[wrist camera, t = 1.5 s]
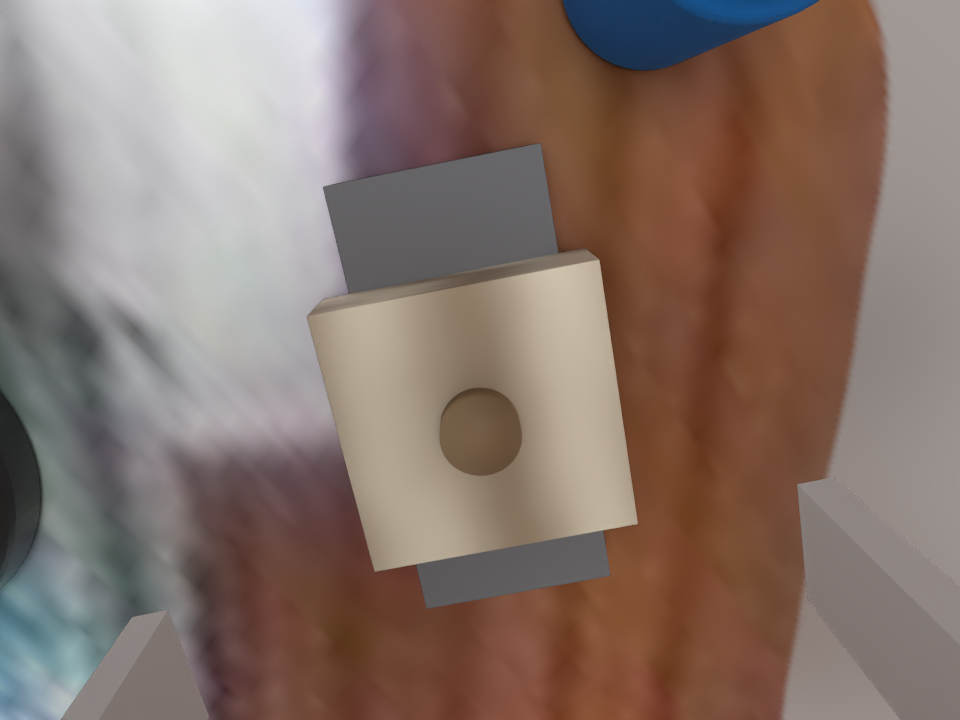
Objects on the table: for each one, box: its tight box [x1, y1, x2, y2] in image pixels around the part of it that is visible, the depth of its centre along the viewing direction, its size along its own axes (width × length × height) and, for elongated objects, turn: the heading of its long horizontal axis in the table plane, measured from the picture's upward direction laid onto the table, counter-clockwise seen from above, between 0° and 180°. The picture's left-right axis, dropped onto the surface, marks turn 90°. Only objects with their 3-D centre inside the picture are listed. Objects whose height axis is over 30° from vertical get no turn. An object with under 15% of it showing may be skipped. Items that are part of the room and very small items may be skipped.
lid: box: [307, 248, 638, 572], centre depth 26 cm, size 10×10×4 cm
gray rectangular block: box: [323, 143, 610, 609], centre depth 30 cm, size 8×18×2 cm, turn 11°
